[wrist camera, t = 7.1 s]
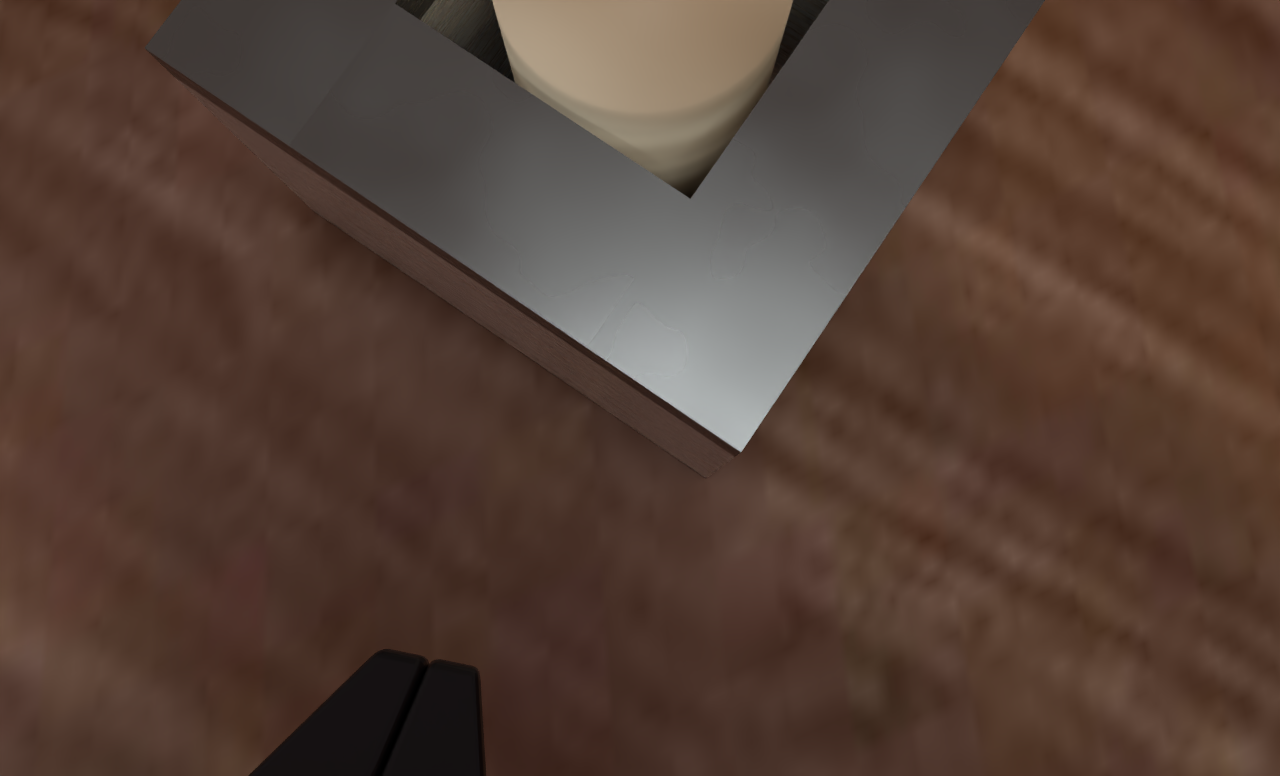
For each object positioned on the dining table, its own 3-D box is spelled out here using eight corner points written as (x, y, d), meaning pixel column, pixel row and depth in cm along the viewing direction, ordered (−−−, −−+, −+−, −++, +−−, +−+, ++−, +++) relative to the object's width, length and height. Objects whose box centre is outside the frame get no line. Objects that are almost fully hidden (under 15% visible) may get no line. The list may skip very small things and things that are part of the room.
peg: (669, 287, 23) (684, 172, 15) (494, 170, 23) (426, 1, 16) (788, 116, 23) (857, -76, 16) (614, 4, 24) (602, -236, 16)
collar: (706, 478, 23) (741, 452, 15) (311, 209, 24) (144, 48, 16) (967, 90, 24) (1130, -128, 16) (582, -156, 25) (554, -483, 17)
